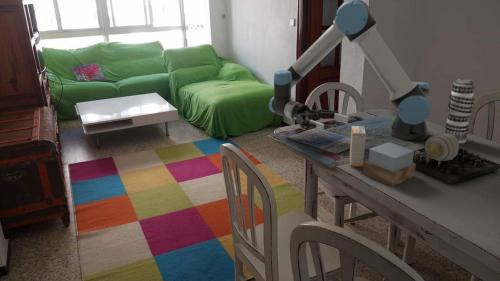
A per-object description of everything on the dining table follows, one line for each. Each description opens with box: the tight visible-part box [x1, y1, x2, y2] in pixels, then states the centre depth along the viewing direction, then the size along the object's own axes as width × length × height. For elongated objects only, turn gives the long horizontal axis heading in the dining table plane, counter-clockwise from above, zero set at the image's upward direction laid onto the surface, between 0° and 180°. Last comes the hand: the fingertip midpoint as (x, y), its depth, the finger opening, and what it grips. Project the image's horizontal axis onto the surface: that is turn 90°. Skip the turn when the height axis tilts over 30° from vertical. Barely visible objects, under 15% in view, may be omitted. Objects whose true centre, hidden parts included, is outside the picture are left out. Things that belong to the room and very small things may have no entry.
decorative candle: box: [443, 78, 477, 144], centre depth 154 cm, size 9×9×25 cm
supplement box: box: [349, 125, 367, 168], centre depth 139 cm, size 8×5×13 cm, turn 168°
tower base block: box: [362, 159, 417, 187], centre depth 130 cm, size 12×12×5 cm
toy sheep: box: [424, 132, 460, 161], centre depth 137 cm, size 11×17×11 cm, turn 130°
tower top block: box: [368, 141, 415, 172], centre depth 128 cm, size 10×10×5 cm
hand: (335, 124), depth 145 cm, fingers open, 13 cm apart
